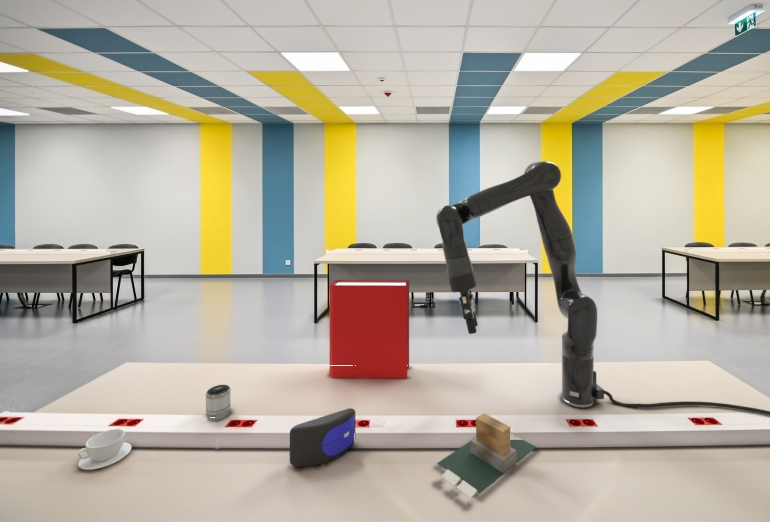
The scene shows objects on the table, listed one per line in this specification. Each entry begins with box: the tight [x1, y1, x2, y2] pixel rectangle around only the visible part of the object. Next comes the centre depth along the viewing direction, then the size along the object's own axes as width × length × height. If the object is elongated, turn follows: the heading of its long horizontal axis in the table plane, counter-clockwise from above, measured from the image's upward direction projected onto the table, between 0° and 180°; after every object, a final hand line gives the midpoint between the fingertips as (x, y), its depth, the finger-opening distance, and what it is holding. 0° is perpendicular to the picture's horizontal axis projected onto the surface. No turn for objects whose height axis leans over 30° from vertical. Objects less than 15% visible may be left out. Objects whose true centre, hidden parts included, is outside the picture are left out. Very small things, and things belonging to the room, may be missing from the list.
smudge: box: [457, 480, 478, 499], centre depth 85 cm, size 4×4×1 cm
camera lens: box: [205, 384, 232, 422], centre depth 115 cm, size 6×6×8 cm
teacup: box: [77, 428, 132, 470], centre depth 97 cm, size 10×10×5 cm
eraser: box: [469, 412, 517, 474], centre depth 96 cm, size 10×5×8 cm, turn 44°
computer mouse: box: [289, 407, 356, 468], centre depth 97 cm, size 16×5×9 cm, turn 123°
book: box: [328, 279, 410, 379], centre depth 142 cm, size 27×8×32 cm, turn 89°
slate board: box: [436, 439, 537, 495], centre depth 97 cm, size 22×13×1 cm, turn 134°
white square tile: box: [441, 469, 462, 486], centre depth 88 cm, size 4×4×1 cm
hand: (473, 329), depth 114 cm, fingers open, 8 cm apart
